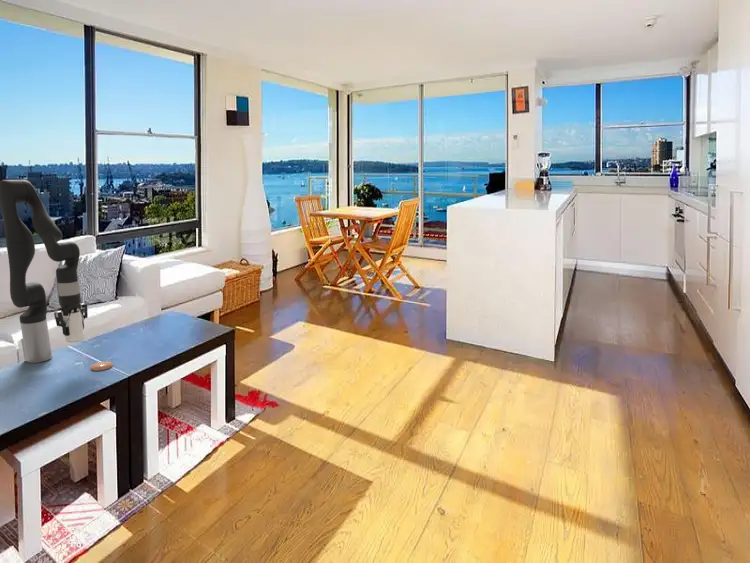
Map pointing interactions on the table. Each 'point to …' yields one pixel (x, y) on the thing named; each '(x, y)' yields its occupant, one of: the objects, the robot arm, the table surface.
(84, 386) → the table surface
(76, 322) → the can
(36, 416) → the table surface
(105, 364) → the peach round disc
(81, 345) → the table surface
